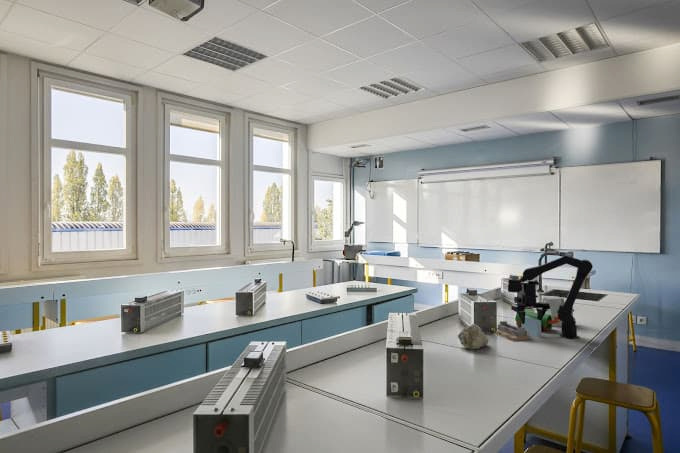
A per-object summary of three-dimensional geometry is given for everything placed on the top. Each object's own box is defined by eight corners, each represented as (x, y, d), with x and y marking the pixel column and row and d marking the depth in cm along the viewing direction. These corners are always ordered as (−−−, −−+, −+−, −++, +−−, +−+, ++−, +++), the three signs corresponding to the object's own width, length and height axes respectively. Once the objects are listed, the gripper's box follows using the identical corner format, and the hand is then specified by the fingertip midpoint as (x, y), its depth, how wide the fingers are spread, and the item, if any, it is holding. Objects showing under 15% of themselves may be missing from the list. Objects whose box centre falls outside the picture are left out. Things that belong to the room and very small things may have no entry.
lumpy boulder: (496, 351, 184) (474, 345, 177) (476, 355, 192) (454, 349, 185) (493, 327, 189) (472, 320, 182) (473, 331, 198) (452, 325, 190)
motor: (514, 326, 218) (554, 333, 204) (515, 309, 219) (555, 315, 205) (521, 326, 225) (560, 332, 211) (522, 310, 226) (561, 315, 212)
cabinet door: (541, 336, 201) (540, 320, 201) (535, 337, 200) (535, 320, 201) (525, 330, 213) (525, 315, 213) (520, 331, 212) (519, 316, 212)
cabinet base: (530, 339, 196) (530, 327, 197) (512, 341, 194) (512, 329, 195) (506, 329, 216) (505, 319, 216) (489, 331, 214) (488, 320, 214)
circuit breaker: (576, 325, 220) (575, 298, 220) (550, 326, 220) (549, 298, 221) (569, 322, 228) (568, 295, 228) (543, 323, 228) (542, 296, 228)
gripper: (535, 289, 217) (536, 318, 217) (504, 292, 213) (505, 321, 213) (550, 292, 206) (551, 323, 206) (517, 295, 202) (518, 326, 202)
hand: (531, 323), depth 207 cm, fingers open, 9 cm apart
